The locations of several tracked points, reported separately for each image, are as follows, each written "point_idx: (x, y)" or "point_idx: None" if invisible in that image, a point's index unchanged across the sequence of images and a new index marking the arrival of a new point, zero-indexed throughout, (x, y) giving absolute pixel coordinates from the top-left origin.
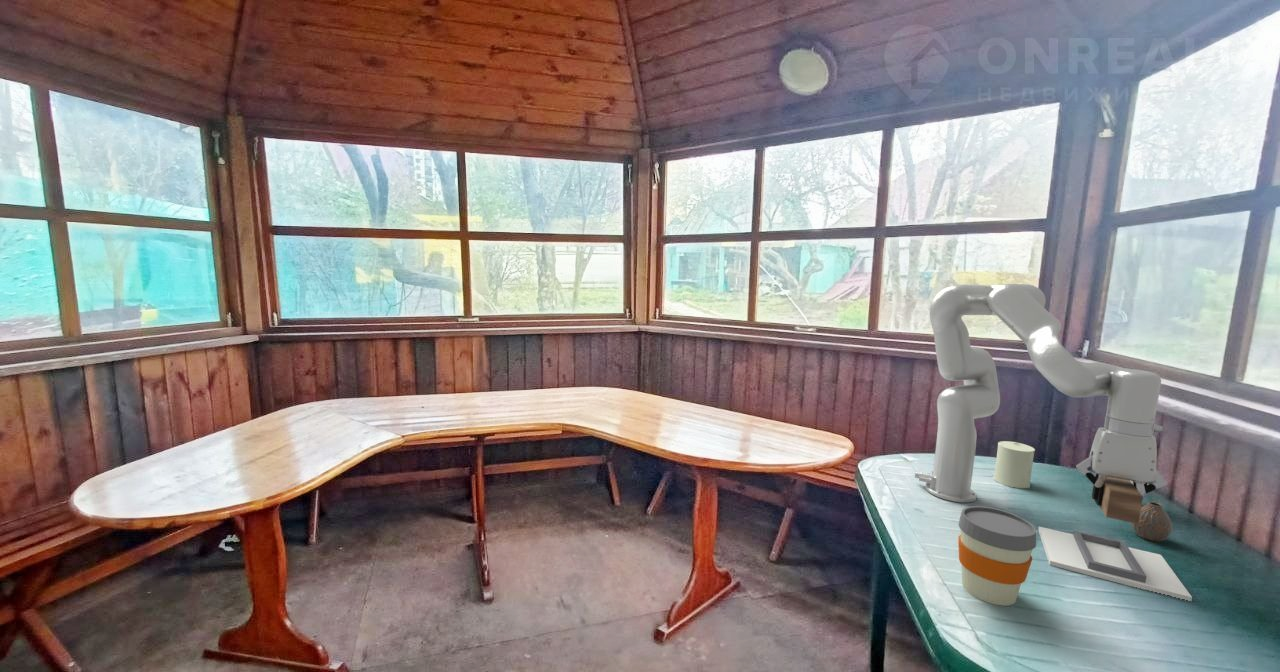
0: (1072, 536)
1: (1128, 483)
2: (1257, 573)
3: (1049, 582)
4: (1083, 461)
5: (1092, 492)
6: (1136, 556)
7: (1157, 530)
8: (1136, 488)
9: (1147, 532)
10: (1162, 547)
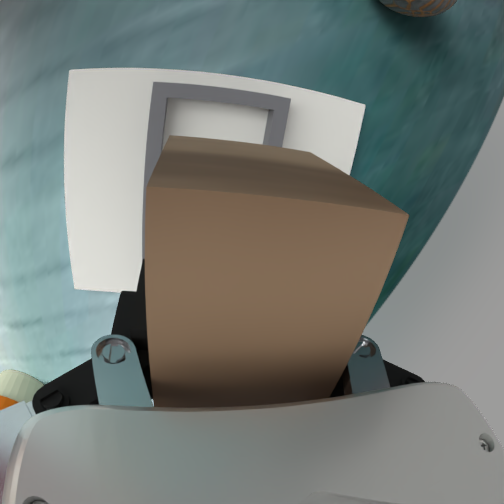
0: (152, 87)
1: (320, 377)
2: (487, 111)
3: (81, 345)
4: (1, 495)
5: (118, 307)
6: (296, 144)
7: (411, 13)
8: (339, 380)
9: (387, 3)
10: (394, 34)
